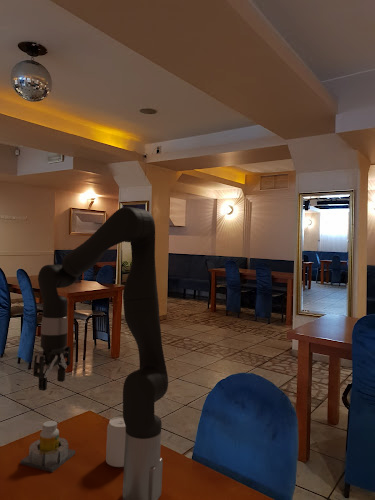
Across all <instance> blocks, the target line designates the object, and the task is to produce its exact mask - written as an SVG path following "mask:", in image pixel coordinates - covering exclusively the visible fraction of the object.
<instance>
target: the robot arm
mask: <svg viewBox="0 0 375 500" xmlns="http://www.w3.org/2000/svg"><path fill="white" fill-rule="evenodd" d="M124 242H125V243H130V249H131V264H130V268H129V272H128V275H127V277H126V281H125V283H124V287H123V291H122V292H123V293H122V300H123V301H122V303H123V314H124V319H125V322H126V325H127V327H128V330H129V331H130V333H131V335H132V337H133V338H134V341H135V342H136V343H135V344H136V345H137V350H138V356H139V357H138V359H139V369H136V370H134V371H132V372H130V373H129V374H128V375H127V376H126V378H125V380H124V383H123V386H122V389H123V390H122V417H123V419H124V423H125V426H126V431H125V452H124V467H123V479H122V480H123V481H122V500H159V498H160V497H161V495H162V488H163V487H162V486H163V485H162V483H163V458H162V457H161V443H162V441H161V440H162V427H163V426H162V419H161V418H160V417H159V415H156V414H155V403H156V402H158V401H159V400H161V399H162V398H163V397H165V395H166V393H167V391H168V387H169V377H168V376H169V375H168V371H167V365H166V360H165V356H164V355H165V354H164V350H163V340H162V328H161V321H160V320H161V319H160V304H159V293H158V283H157V268H156V224H155V220H154V217H153V215H152V214H151V213H150V211H148V210H146V209H143V208H138V207H133V206H123V207H119V208H118V209H117V210H116V211H114V212H113V213H112V214H111V215H110V216H109V217H108V218H107V219H106V220H105V221H104V223H103V224H101V226H99V228H98V229H97V230H96V231H95V232H94V233H93V234H92V235H91V236H90V237H88V239H86V240H85V241H84V242H82V243H81V244H79V246H77V247H75V248H74V249H73V250H71V251H70V252H68V253H67V254H66V255H65V256H64V257H63V258H62V262H61V264H45V265H44V266H42V268H40V269H39V272H38V275H37V276H38V277H37V282H38V287H39V291H40V296H41V300H42V317H41V318H42V319H41V323H40V324H41V327H40V344H39V345H40V348H41V349H42V351H43V352H42V354H41V355H38V354H36V355H34V361H33V362H34V363H33V373H32V374H33V375H32V377H34V378H35V377H36V378H38V390H39V391H42V392H43V391H46V390H48V375H49V372H50V371H52V369H53V368H54V367H55V366H56V367H57V368H58V369H57V379H56V380H57V382H60V383H61V382H62V383H63V382H65V381H66V380H65V379H66V370H67V367H68V366H71V356H72V355H71V346H68V328H69V325H68V324H69V323H68V310H69V309H68V306H69V305H68V303H69V302H68V299H67V297H65V296H63V295H59V292H58V289H62V288H63V289H64V288H67V287H70V286H72V285H73V284H75V283H76V281H77V280H79V278H80V277H81V276H82V275H83V274H85V272H87V271H89V270H90V269H92V268H94V266H96V264H98V263H99V262H100V261H101V259H102V257H103V256H104V254H105V252H107V251H108V250H110V249H111V248H112V247H114V246H116V245H118V244H121V243H124Z"/></svg>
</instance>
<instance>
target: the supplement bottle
mask: <svg viewBox="0 0 375 500" xmlns="http://www.w3.org/2000/svg"><path fill="white" fill-rule="evenodd" d="M40 431H41V432H40V433H39V440H40V450H41V451H52V450H56V449H57V448H58V447H59V437H60V430H59V429H58V422H57V421H55V420H48V421H44V422H43V423H42V430H40Z"/></svg>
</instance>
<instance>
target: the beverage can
mask: <svg viewBox="0 0 375 500" xmlns="http://www.w3.org/2000/svg"><path fill="white" fill-rule="evenodd" d="M125 431H126V426H125V423H124V419H123V416H116V417H113V418H111V419H109V422H108V424H107V430H106V448H105V449H106V451H105V462H106V463H107V465H109V466H111V467H115V468H124V452H125Z"/></svg>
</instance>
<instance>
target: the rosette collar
mask: <svg viewBox="0 0 375 500" xmlns="http://www.w3.org/2000/svg"><path fill="white" fill-rule="evenodd" d="M28 450H29V453H28V454H27V456H25V457H24V458H22V459H20V465H23V466H27V467H31V468H35V469H38V470H42V471H45V472H50V473H53V472H55V471H56V470H57V469H59V468H60V467H61V466H62V465H64V464H65V463H66V462H67V461H68V460H69V459H71V458H72V457H74V455H75V454H76V450H74V449H71V448H69V443H68V440H67V439H65V438H64V437H60V436H59V447H58V448H57V449H56V450H52V451H41V450H40V438H39V439H37V440H35V441H34V442H32V443H31V444H30V445H29V449H28Z"/></svg>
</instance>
